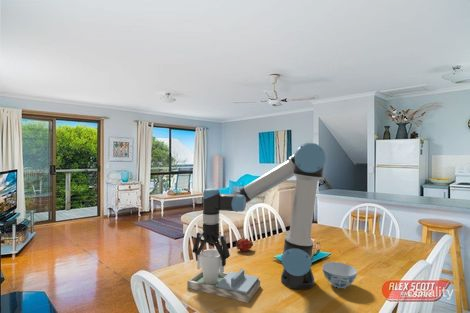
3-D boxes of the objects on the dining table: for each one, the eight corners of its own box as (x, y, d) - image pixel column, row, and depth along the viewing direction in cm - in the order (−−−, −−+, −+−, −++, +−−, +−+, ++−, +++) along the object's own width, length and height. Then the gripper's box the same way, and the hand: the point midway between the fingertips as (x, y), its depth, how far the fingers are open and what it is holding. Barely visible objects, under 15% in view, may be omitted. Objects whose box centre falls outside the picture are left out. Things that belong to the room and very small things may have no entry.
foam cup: (198, 277, 127) (198, 250, 126) (217, 274, 131) (217, 247, 130) (203, 288, 119) (204, 259, 118) (223, 284, 122) (224, 256, 121)
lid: (258, 278, 123) (258, 270, 123) (246, 294, 110) (246, 284, 110) (230, 273, 129) (230, 265, 129) (215, 286, 115) (215, 277, 115)
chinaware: (328, 275, 136) (329, 259, 135) (361, 284, 126) (361, 267, 126) (316, 286, 124) (317, 269, 124) (351, 297, 114) (351, 279, 114)
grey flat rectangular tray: (260, 286, 123) (260, 279, 123) (248, 302, 109) (248, 295, 109) (204, 274, 135) (204, 268, 135) (187, 287, 121) (187, 280, 121)
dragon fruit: (233, 253, 167) (251, 254, 171) (238, 249, 161) (257, 250, 165) (232, 240, 172) (249, 241, 176) (237, 235, 166) (255, 236, 170)
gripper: (237, 223, 123) (237, 271, 123) (193, 218, 133) (193, 263, 133) (230, 227, 116) (230, 278, 117) (184, 221, 126) (184, 268, 126)
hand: (210, 270), depth 125 cm, fingers open, 11 cm apart
